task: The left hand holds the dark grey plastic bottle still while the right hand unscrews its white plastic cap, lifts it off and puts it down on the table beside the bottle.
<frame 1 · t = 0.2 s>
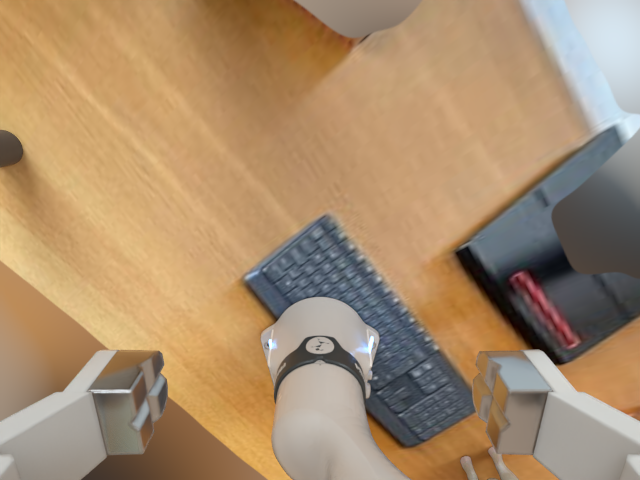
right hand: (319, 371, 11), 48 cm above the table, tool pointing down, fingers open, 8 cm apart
bottle: (5, 147, 56), on the table
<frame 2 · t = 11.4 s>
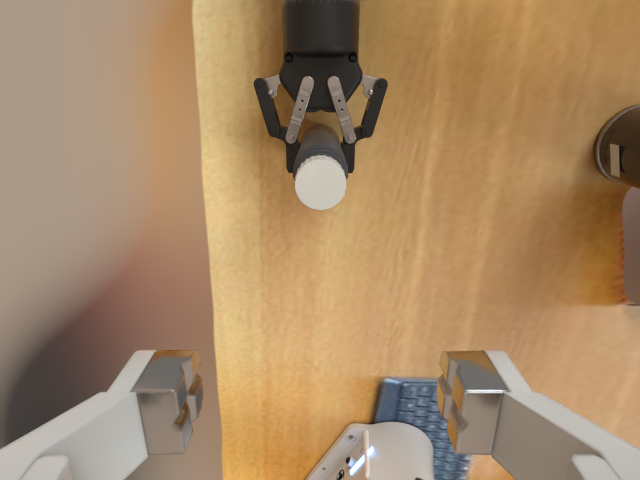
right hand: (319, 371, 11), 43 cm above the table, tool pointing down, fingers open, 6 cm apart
left hand: (320, 176, 46), fingers closed on bottle, 4 cm apart
cap: (320, 184, 31), point 22 cm above the table, screwed on, not yet turned
bottle: (320, 144, 51), on the table, touching left hand
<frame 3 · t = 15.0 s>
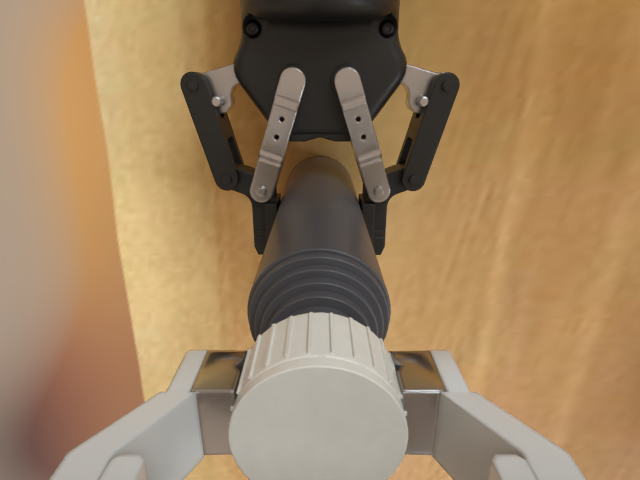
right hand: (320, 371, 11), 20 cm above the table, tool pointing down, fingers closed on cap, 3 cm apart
left hand: (320, 258, 24), fingers closed on bottle, 4 cm apart
cap: (318, 429, 9), point 22 cm above the table, screwed on, not yet turned, touching right hand
bottle: (319, 189, 29), on the table, touching left hand
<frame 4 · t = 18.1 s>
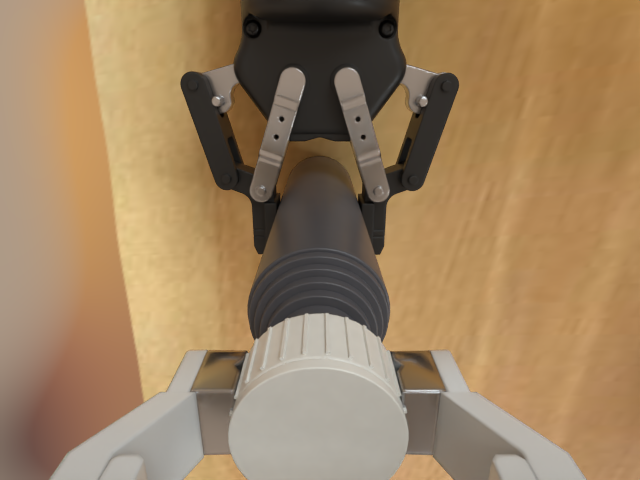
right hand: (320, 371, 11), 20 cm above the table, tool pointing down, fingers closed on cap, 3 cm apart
left hand: (319, 257, 25), fingers closed on bottle, 4 cm apart
cap: (318, 431, 9), point 22 cm above the table, turned 75° so far, risen 0.1 cm, still on its thread, touching right hand
bottle: (319, 188, 29), on the table, touching left hand
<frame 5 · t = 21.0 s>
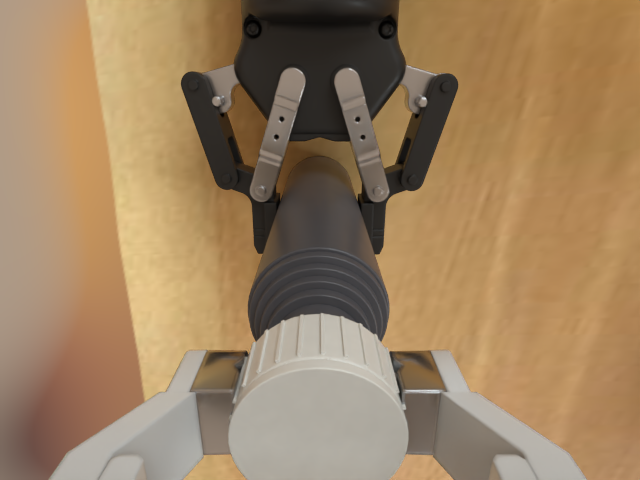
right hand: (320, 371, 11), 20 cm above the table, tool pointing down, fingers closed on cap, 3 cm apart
left hand: (319, 257, 25), fingers closed on bottle, 4 cm apart
cap: (318, 431, 9), point 22 cm above the table, turned 151° so far, risen 0.2 cm, still on its thread, touching right hand
bottle: (318, 188, 29), on the table, touching left hand
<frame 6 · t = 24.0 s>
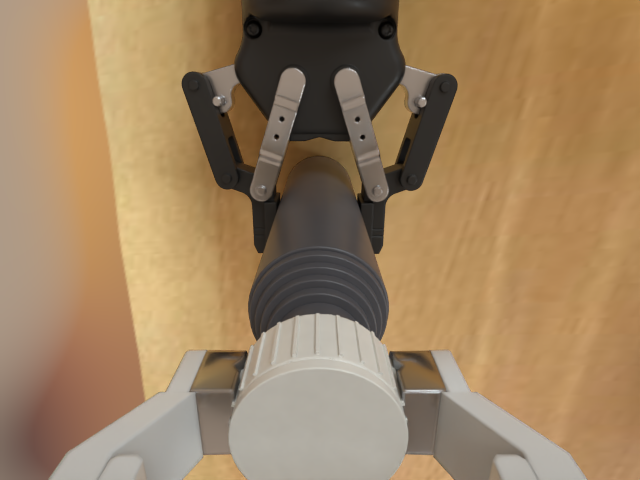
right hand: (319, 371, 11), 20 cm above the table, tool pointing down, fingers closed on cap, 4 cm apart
left hand: (319, 256, 25), fingers closed on bottle, 4 cm apart
cap: (318, 431, 9), point 22 cm above the table, turned 226° so far, risen 0.2 cm, still on its thread, touching right hand
bottle: (318, 188, 30), on the table, touching left hand
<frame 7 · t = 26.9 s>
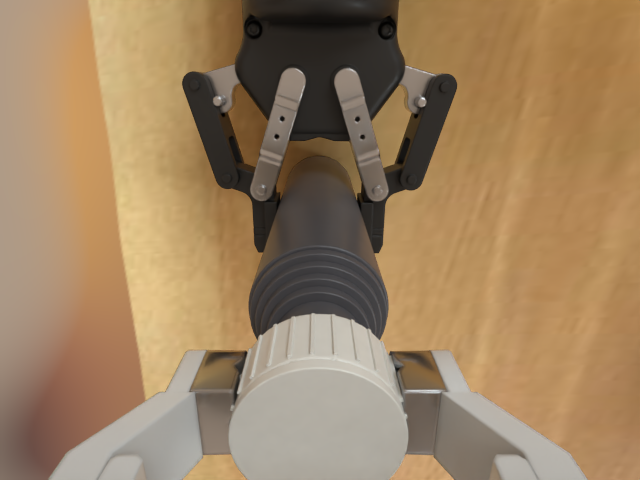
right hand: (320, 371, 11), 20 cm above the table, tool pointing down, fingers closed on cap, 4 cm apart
left hand: (319, 256, 25), fingers closed on bottle, 4 cm apart
cap: (318, 431, 9), point 22 cm above the table, turned 301° so far, risen 0.3 cm, still on its thread, touching right hand
bottle: (318, 188, 30), on the table, touching left hand
when the right hand's fingers open (2 cm above the table, at t = 39.4 s): cap drops 2 cm, point 2 cm above the table.
when the left hand's fingers open (6 cm above the table, at t = 40.5 s): bottle stays where it is, on the table.
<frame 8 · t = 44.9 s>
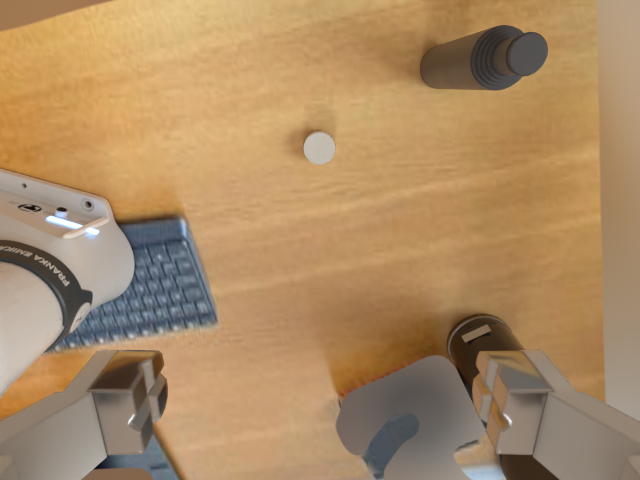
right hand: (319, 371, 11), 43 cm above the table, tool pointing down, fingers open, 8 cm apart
cap: (319, 148, 50), point 2 cm above the table, off its thread
bottle: (440, 67, 48), on the table
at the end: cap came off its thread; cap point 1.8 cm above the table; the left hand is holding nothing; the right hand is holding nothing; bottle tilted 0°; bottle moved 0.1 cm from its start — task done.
